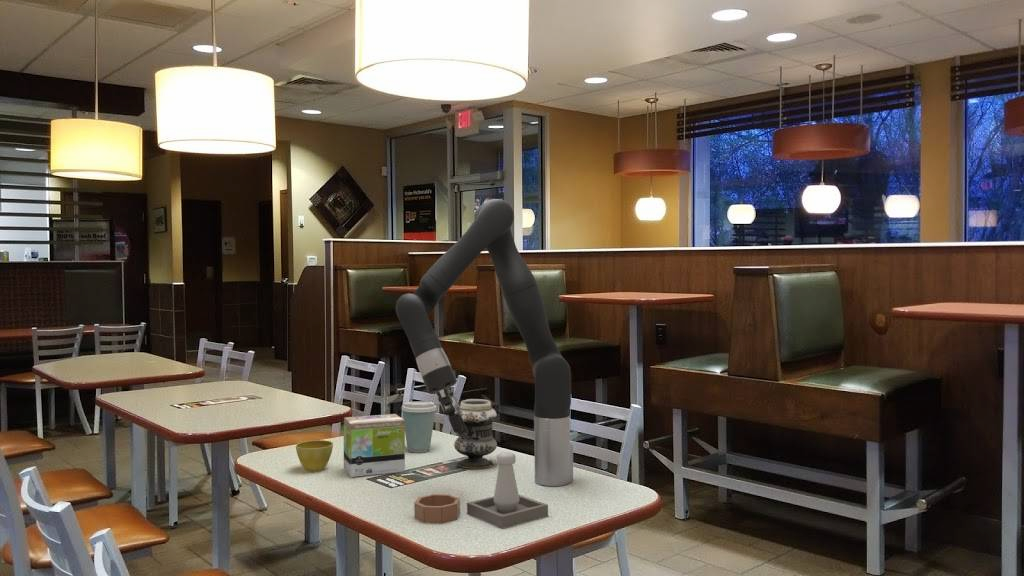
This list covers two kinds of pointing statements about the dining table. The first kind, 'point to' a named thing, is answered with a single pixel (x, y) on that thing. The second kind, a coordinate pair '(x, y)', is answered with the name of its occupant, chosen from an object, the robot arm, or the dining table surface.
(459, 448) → the apothecary jar
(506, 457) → the salt shaker
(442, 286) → the robot arm
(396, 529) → the dining table surface
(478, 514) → the tray
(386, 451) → the tea box
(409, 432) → the disposable coffee cup
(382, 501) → the dining table surface
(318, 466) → the flower pot
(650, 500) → the dining table surface
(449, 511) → the cup ring
